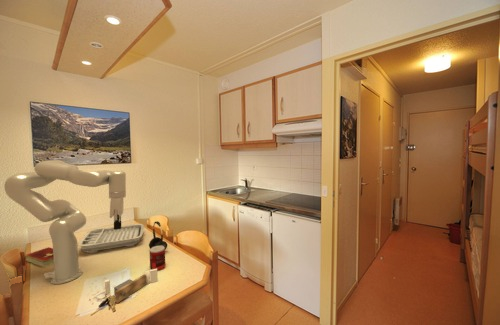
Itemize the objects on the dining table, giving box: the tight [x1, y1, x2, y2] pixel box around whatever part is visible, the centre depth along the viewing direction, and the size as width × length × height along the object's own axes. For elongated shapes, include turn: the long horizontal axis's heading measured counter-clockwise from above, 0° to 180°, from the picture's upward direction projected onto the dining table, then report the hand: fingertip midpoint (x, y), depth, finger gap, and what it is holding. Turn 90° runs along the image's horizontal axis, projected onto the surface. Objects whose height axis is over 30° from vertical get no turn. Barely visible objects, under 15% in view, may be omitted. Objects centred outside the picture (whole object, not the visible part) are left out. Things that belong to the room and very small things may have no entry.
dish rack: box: [77, 223, 145, 254], centre depth 150 cm, size 32×37×8 cm
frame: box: [104, 269, 159, 296], centre depth 101 cm, size 22×2×6 cm, turn 116°
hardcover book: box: [23, 247, 54, 268], centre depth 129 cm, size 12×21×4 cm, turn 67°
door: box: [114, 273, 147, 304], centre depth 96 cm, size 14×2×5 cm, turn 154°
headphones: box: [148, 221, 168, 251], centre depth 136 cm, size 9×15×20 cm, turn 44°
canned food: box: [149, 246, 166, 272], centre depth 117 cm, size 8×8×11 cm
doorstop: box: [113, 278, 133, 295], centre depth 97 cm, size 7×5×4 cm
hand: (117, 228), depth 112 cm, fingers closed
